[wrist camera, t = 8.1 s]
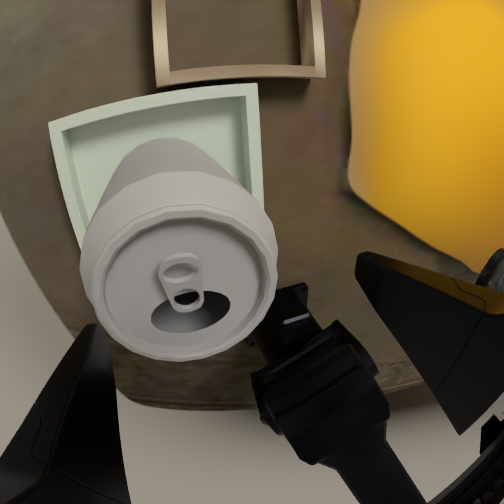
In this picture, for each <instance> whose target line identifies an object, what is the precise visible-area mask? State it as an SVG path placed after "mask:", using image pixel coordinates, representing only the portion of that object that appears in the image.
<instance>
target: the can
mask: <svg viewBox="0 0 504 504" xmlns="http://www.w3.org/2000/svg"><path fill="white" fill-rule="evenodd" d="M277 256H278V248H277V242H276V238H275V233H274V228H273V224H272V222H271V221H270V219H269V218H268V216H267V215H266V213H265V211H264V210H263V208H262V207H261V205H260V204H259V202H258V200H257V199H256V198H254V197H253V196H252V195H251V194H250V193H249V192H248V191H247V190H246V189H245V188H244V187H243V186H242V185H241V184H240V183H239V182H238V181H236V180H235V179H234V178H233V177H232V176H231V175H230V174H229V173H228V172H227V171H226V170H225V169H224V168H222V167H221V166H220V165H219V164H218V163H217V162H216V161H215V160H214V159H213V158H212V157H210V156H209V155H208V154H207V153H206V152H204V151H203V150H202V149H200V148H199V147H198V146H196V145H195V144H193V143H191V142H188V141H184V140H181V139H178V138H157V139H154V140H151V141H148V142H146V143H143V144H140V145H138V146H137V147H136V148H134V149H133V150H132V151H131V152H129V153H128V154H127V155H126V156H125V157H124V158H123V159H122V161H121V162H120V164H119V165H118V167H117V168H116V170H115V172H114V173H113V175H112V177H111V179H110V181H109V183H108V185H107V187H106V189H105V191H104V193H103V195H102V197H101V199H100V201H99V204H98V206H97V208H96V210H95V212H94V214H93V217H92V219H91V221H90V223H89V226H88V228H87V231H86V233H85V235H84V238H83V242H82V250H81V259H80V273H81V277H82V281H83V285H84V289H85V292H86V296H87V297H88V299H89V300H90V302H91V303H92V305H93V306H94V309H95V312H96V315H97V318H98V320H99V321H100V323H101V324H102V325H103V327H104V328H105V329H106V331H107V332H108V333H109V335H110V336H111V337H112V338H113V339H114V340H116V341H117V342H119V343H120V344H122V345H123V346H124V347H126V348H127V349H129V350H130V351H132V352H135V353H137V354H140V355H143V356H146V357H149V358H152V359H155V360H165V361H177V362H181V361H189V360H196V359H203V358H206V357H209V356H212V355H214V354H217V353H220V352H222V351H225V350H227V349H229V348H230V347H232V346H233V345H235V344H236V343H238V342H239V341H241V340H242V339H244V338H245V337H247V336H248V335H249V334H250V333H251V332H252V331H253V330H254V328H255V327H256V326H257V325H258V324H259V323H260V322H261V321H262V320H263V319H264V317H265V315H266V313H267V311H268V309H269V307H270V305H271V303H272V301H273V299H274V296H275V290H276V284H277V278H278V273H277V269H276V263H277Z"/></svg>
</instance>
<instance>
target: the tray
mask: <svg viewBox="0 0 504 504" xmlns="http://www.w3.org/2000/svg"><path fill="white" fill-rule="evenodd" d="M48 126H49V132H50V138H51V143H52V148H53V153H54V158H55V163H56V167H57V171H58V176H59V180H60V184H61V188H62V191H63V195H64V199H65V202H66V206H67V209H68V213H69V216H70V219H71V222H72V225H73V229H74V232H75V235H76V238H77V240H78V243H79V246H80V249H81V250H82V242H83V238H84V235H85V233H86V231H87V228H88V226H89V223H90V221H91V219H92V217H93V214H94V212H95V210H96V208H97V206H98V204H99V201H100V199H101V197H102V195H103V193H104V191H105V189H106V187H107V185H108V183H109V181H110V179H111V177H112V175H113V173H114V172H115V170H116V168H117V167H118V165H119V164H120V162H121V161H122V159H123V158H124V157H125V156H126V155H127V154H128V153H129V152H131V151H132V150H133V149H134V148H136V147H137V146H138V145H140V144H143V143H146V142H148V141H151V140H154V139H157V138H178V139H181V140H184V141H188V142H191V143H193V144H195V145H196V146H198V147H199V148H200V149H202V150H203V151H204V152H206V153H207V154H208V155H209V156H210V157H212V158H213V159H214V160H215V161H216V162H217V163H218V164H219V165H220V166H221V167H222V168H224V169H225V170H226V171H227V172H228V173H229V174H230V175H231V176H232V177H233V178H234V179H235V180H236V181H238V182H239V183H240V184H241V185H242V186H243V187H244V188H245V189H246V190H247V191H248V192H249V193H250V194H251V195H252V196H253V197H254V198H256V199H257V200H258V202H259V204H260V205H261V207H262V208H263V210H264V197H263V176H262V156H261V137H260V119H259V102H258V85H257V83H245V84H229V85H217V86H207V87H198V88H190V89H182V90H176V91H169V92H163V93H157V94H152V95H147V96H142V97H137V98H132V99H128V100H123V101H119V102H115V103H111V104H107V105H103V106H99V107H96V108H92V109H89V110H85V111H82V112H79V113H76V114H72V115H69V116H66V117H63V118H60V119H57V120H55V121H52V122H49V123H48Z"/></svg>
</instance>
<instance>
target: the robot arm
mask: <svg viewBox="0 0 504 504" xmlns="http://www.w3.org/2000/svg"><path fill="white" fill-rule="evenodd" d="M355 277H356V280H357V281H358V283H359V285H360V286H361V288H362V290H363V291H364V293H365V294H366V296H367V298H368V299H369V301H370V303H371V304H372V306H373V308H374V309H375V311H376V312H377V314H378V315H379V316H380V318H381V319H382V320H383V322H384V323H385V325H386V326H387V327H388V329H389V330H390V331H391V333H392V334H393V336H394V337H395V338H396V340H397V341H398V343H399V344H400V346H401V347H402V348H403V350H404V351H405V353H406V354H407V356H408V357H409V358H410V360H411V361H412V363H413V364H414V366H415V367H416V369H417V370H418V372H419V373H420V375H421V376H422V378H423V379H424V381H425V382H426V384H427V385H428V387H429V388H430V390H431V391H432V393H433V394H434V396H435V398H436V399H437V401H438V402H439V404H440V406H441V407H442V409H443V410H444V412H445V414H446V415H447V417H448V419H449V420H450V422H451V424H452V425H453V427H454V428H455V430H456V432H457V433H458V435H459V436H460V435H461V434H462V433H464V432H465V431H466V430H467V429H468V428H469V427H470V426H471V425H472V424H473V423H474V422H475V421H476V420H478V418H480V416H482V415H483V413H485V412H486V410H488V408H489V409H490V410H491V411H492V412H493V415H492V416H491V417H490V418H489V420H488V421H487V422H486V423H485V424H484V425H483V426H482V427H481V442H480V457H479V458H478V459H477V460H476V461H475V462H474V463H473V464H472V465H471V466H470V467H469V468H468V469H467V470H465V471H464V472H463V473H462V474H461V475H460V476H459V477H458V478H457V479H456V480H455V481H454V482H452V483H451V484H450V485H449V486H448V487H447V488H445V489H444V490H443V491H442V492H441V493H439V494H438V495H437V496H436V497H435V498H433V499H432V500H431V501H429V502H428V503H426V501H425V499H424V498H423V496H422V495H421V493H420V492H419V490H418V489H417V487H416V485H415V484H414V482H413V481H412V479H411V478H410V476H409V475H408V473H407V472H406V470H405V468H404V467H403V466H402V464H401V462H400V461H399V459H398V458H397V456H396V455H395V453H394V452H393V450H392V449H391V447H390V446H389V444H388V442H387V441H386V425H387V420H388V419H389V418H390V411H389V403H388V402H387V398H386V396H385V395H384V393H383V391H382V390H381V388H380V387H379V385H378V383H377V382H376V380H375V378H376V377H377V376H379V371H378V369H377V367H376V365H375V363H374V361H373V360H372V358H371V357H370V355H369V354H368V352H367V351H366V349H365V348H364V347H363V346H362V344H361V343H360V342H359V341H358V340H357V339H356V338H355V337H354V336H353V335H352V334H351V333H350V332H349V331H348V330H347V329H346V328H345V327H344V326H343V325H342V324H341V323H340V322H339V321H338V320H335V321H334V322H332V324H331V325H330V326H328V327H327V328H325V329H324V330H322V328H321V327H320V326H319V324H318V323H317V321H316V320H315V319H314V317H313V316H312V315H311V313H310V311H309V310H308V309H307V299H308V286H307V284H306V283H300V284H296V285H292V286H289V287H285V288H282V289H278V290H275V296H274V299H273V301H272V303H271V305H270V307H269V309H268V311H267V313H266V315H265V317H264V319H263V320H262V321H261V322H260V323H259V324H258V325H257V326H256V327H255V328H254V330H253V331H252V332H251V333H250V334H249V335H248V336H247V337H246V340H247V344H248V346H249V347H254V346H257V345H259V347H260V349H261V352H262V354H263V356H264V358H265V360H266V362H267V364H268V365H267V366H265V367H264V368H262V369H260V370H259V371H255V372H253V373H251V374H250V375H251V379H252V382H251V383H252V387H253V390H254V394H255V398H256V402H257V405H258V409H259V413H260V420H261V421H262V423H263V424H265V425H269V426H270V427H271V428H272V430H273V431H274V432H275V433H276V434H278V435H280V436H282V435H284V436H285V437H286V438H287V440H288V441H289V443H290V444H291V446H292V447H293V449H294V451H295V452H296V454H297V456H298V457H299V459H301V460H302V461H304V462H306V463H308V464H310V465H315V464H317V463H320V464H322V465H324V466H327V467H330V468H333V469H335V470H336V471H337V472H338V473H339V475H340V476H341V477H342V479H343V480H344V482H345V483H346V485H347V486H348V488H349V489H350V490H351V492H352V493H353V495H354V496H355V497H356V499H357V500H358V502H359V503H360V504H504V292H501V291H497V290H494V289H490V288H486V287H482V286H479V285H475V284H472V283H469V282H465V281H462V280H459V279H456V278H453V277H452V278H451V277H450V276H447V275H444V274H441V273H437V272H434V271H431V270H428V269H425V268H422V267H419V266H415V265H412V264H409V263H406V262H402V261H399V260H396V259H393V258H389V257H386V256H383V255H379V254H376V253H373V252H369V251H366V252H363V253H360V254H358V256H357V259H356V266H355ZM303 287H304V288H303ZM302 288H303V289H302ZM0 504H131V500H130V495H129V491H128V486H127V480H126V474H125V469H124V463H123V456H122V449H121V440H120V432H119V422H118V412H117V397H116V385H115V379H114V372H113V365H112V358H111V350H110V344H109V341H108V339H107V337H106V336H105V334H104V332H103V330H102V328H101V327H100V325H99V324H98V323H92V324H87V325H86V326H85V327H84V328H83V330H82V331H81V332H80V334H79V335H78V337H77V338H76V340H75V341H74V342H73V344H72V345H71V347H70V348H69V350H68V351H67V353H66V354H65V356H64V357H63V359H62V360H61V362H60V363H59V365H58V366H57V368H56V369H55V371H54V372H53V374H52V376H51V377H50V378H49V380H48V381H47V383H46V385H45V386H44V388H43V389H42V391H41V393H40V394H39V396H38V398H37V399H36V401H35V403H34V404H33V406H32V408H31V409H30V411H29V413H28V415H27V416H26V418H25V419H24V421H23V423H22V424H21V426H20V427H19V429H18V431H17V432H16V434H15V435H14V437H13V438H12V440H11V441H10V443H9V445H8V446H7V447H6V449H5V451H4V452H3V454H2V455H1V457H0Z"/></svg>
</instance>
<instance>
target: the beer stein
mask: <svg viewBox="0 0 504 504" xmlns="http://www.w3.org/2000/svg"><path fill="white" fill-rule="evenodd" d="M475 285H479V286H482V287H486V288H490V289H494V290H497V291H501V292H504V249H503V248H501V249H499V250H497V251H496V252H495V253H494V254H493V255H492V256H491V258H490V259H489V261H488V262H487V264H486V265H485V267H484V268H483V270H482V271H481V273H480V275H479V277H478V279H477V282H476V284H475Z"/></svg>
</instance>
